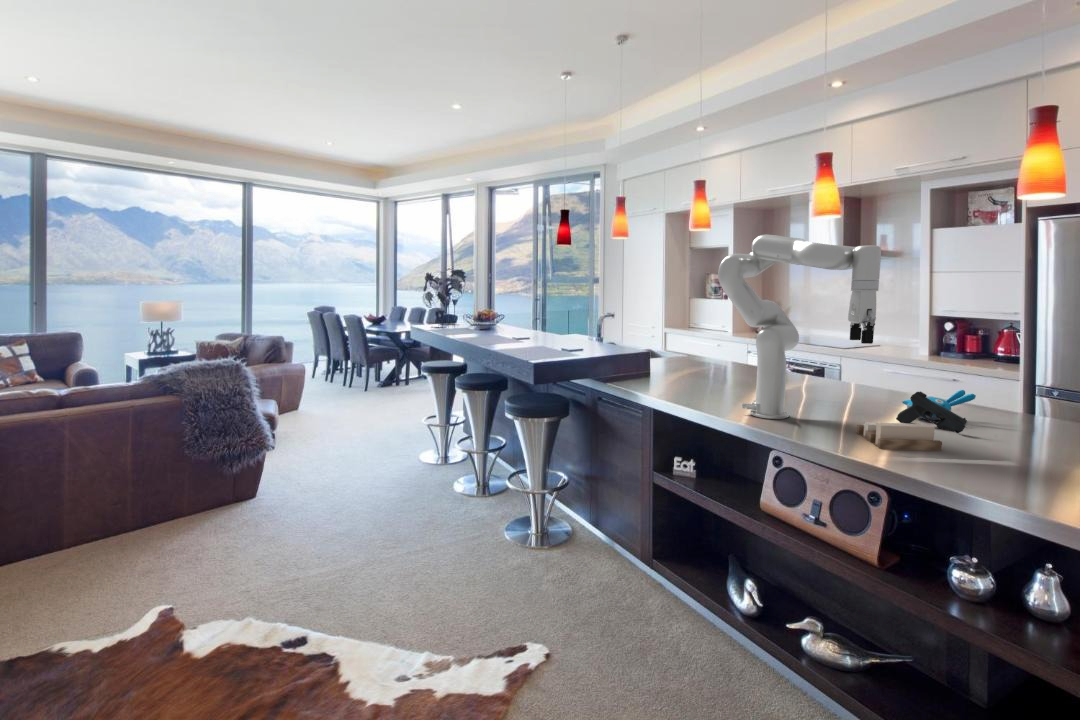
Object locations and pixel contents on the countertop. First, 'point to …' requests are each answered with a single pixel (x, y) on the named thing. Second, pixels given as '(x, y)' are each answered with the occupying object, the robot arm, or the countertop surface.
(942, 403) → the toy
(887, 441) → the rack
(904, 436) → the clay bar
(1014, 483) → the countertop surface
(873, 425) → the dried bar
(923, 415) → the handgun
